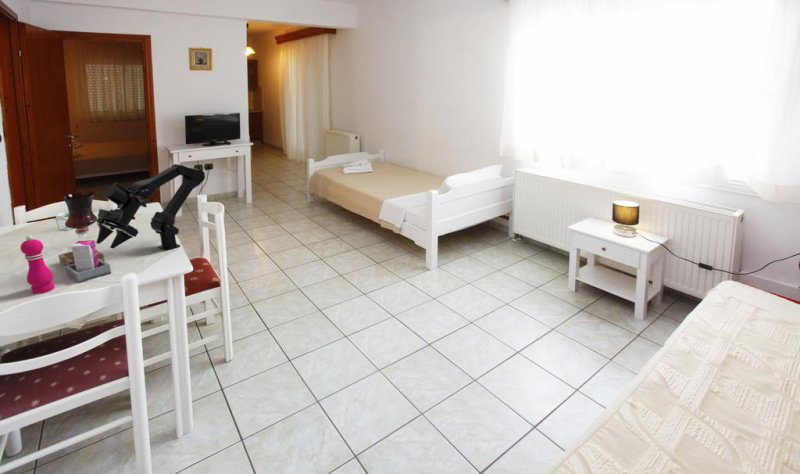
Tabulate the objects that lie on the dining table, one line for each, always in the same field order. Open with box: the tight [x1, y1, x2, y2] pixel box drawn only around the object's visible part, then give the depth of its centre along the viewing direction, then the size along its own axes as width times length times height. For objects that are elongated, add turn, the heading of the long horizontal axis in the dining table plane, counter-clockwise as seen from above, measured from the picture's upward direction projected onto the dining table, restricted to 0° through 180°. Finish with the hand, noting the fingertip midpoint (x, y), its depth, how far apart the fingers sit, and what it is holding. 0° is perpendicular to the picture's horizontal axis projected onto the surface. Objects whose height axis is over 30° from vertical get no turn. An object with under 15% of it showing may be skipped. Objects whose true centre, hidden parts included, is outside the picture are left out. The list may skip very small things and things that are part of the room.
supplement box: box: [71, 240, 99, 273], centre depth 170 cm, size 6×6×12 cm
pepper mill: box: [20, 235, 55, 295], centre depth 156 cm, size 7×7×20 cm
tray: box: [63, 259, 112, 284], centre depth 172 cm, size 11×11×4 cm
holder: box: [57, 249, 105, 267], centre depth 182 cm, size 11×11×4 cm
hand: (104, 245), depth 175 cm, fingers open, 9 cm apart
